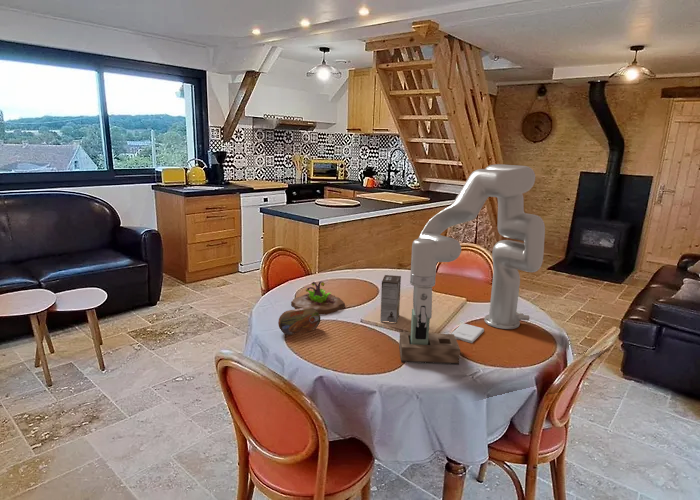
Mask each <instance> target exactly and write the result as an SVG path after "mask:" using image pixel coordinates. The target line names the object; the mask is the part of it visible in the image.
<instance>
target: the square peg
mask: <svg viewBox="0 0 700 500" xmlns="http://www.w3.org/2000/svg"><path fill="white" fill-rule="evenodd" d="M419 317H421V315H419ZM426 318H427V319H426V327H427V329H426V339H416V338H415V333H416V326H417V318H416V317H415V313H414V309H413V308H412V309H411V320H410V321H411V323H410V333H411V338H410V344H418V345H428V338H429V333H430V321H431V319H429V318H428V317H427V316H426ZM419 321H421V319H419Z"/></svg>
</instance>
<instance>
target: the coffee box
mask: <svg viewBox="0 0 700 500" xmlns="http://www.w3.org/2000/svg"><path fill="white" fill-rule="evenodd" d="M401 281H402V276H401V275H390V274H389V275H388V274H384V276H383V279H382V280H381V292H380V295H381V296H380V321H389V322H397V323H398V321H399V317H400V308H401V307H400V303H401ZM398 316H399V317H398ZM397 320H398V321H397ZM380 321H379V322H380Z"/></svg>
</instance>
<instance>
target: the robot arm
mask: <svg viewBox="0 0 700 500" xmlns="http://www.w3.org/2000/svg"><path fill="white" fill-rule="evenodd" d="M535 182H536V174H535V171H534V169H533V168H532V167H530V166H527V165H517V164H516V165H513V164H501V163H499V164H498V163H497V164H489V165H488V166H486V167H485V168H478V169H476V170H474V171H472V172H471V173H470V175H469V176H468V178H467V179H466V181H465V183H464V184H463V186H462V187H461V190H460V191H459V193H458V194H457V195H456V197H455V199H454V201H453V203H451V204H450V205H449V206H447V207H445V208H443V209H441V211H439V212H438V213H436V214H435V215H434V216H432V217H431V218H430V219H429V220H428V221H427V222H426V224H425V226H424V227H423V229H422V230H421V232H420V234H419V236H418V238H417V239H414V240H413V241H412V245H411V259H410V260H411V261H410V278H409V279H410V280H409V284H410V285H411V286H413V289H412V290H413V292H412V309H414V313H415V317H416V318H417V326H416V333H415V338H416V339H426V329H427V327H426V319H427V318H426V316H427V317H428V318H429V319H430V320H431V319H432V314H433V313H432V312H433V310H432V309H433V307H432V306H433V287H435V286H436V277H437V275H436V274H437V263H450V262H451V263H452V262H454V261H456V260H457V259H458V258H459V257H460V255H461V253H462V246H461V244H460V242H459V241H458V240H457V239H456V238H453V237H449V236H445V235H441V234H442V233H443V232H445V231H446V230H447V229H449V228H451V227H453V226H456V225H460V224H464V223H467V222H470V221H474V220H475V219H476V218H477V217H478V215H479V213H480V212H481V209H483V207H484V205H485V203H486V202H487V200H488V199H489V197H490V198H491V197H492V198H497V232H498V233H499V235H500V236H501V237H504V238H508V239H501V240H499V241H497V242H496V243H495V244H494V245H493V248H492V251H491V252H492V253H491V254H492V255H491V256H492V257H491V258H492V265H493V266H492V268H493V269H492V271H493V272H492V273H493V274H492V283H491V293H490V301H489V313H488V314H486V315H485V316H484V319H483V320H484V322H485V323H486V324H487V326H490V327H493V328H496V329H502V330H513V329H517V328H519V327H520V324H521V322H520V321H530V315H528V314H527V315H526V314H524V313H522V312H521V313H518V311H517V310H518V302H519V293H520V284H521V277H520V273H519V271H523V272H527V273H536V272H538V271H539V270H540V269H541V267H542V265H543V262H544V261H543V260H544V252H545V236H546V227H545V226H546V225H545V222H544V220H543V218H542V217H541V216H539V215H537V214H534V213H533V214H531V213H526V212H525V210H524V207H525V206H524V203H525V202H524V200H525V199H524V194H526V193H528V192H529V191H531V189H532V188H533V186H534V185H535ZM510 239H513V240H510ZM515 240H517V241H515ZM520 241H522V242H520ZM419 315H421V317H419ZM419 319H421V321H419Z"/></svg>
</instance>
